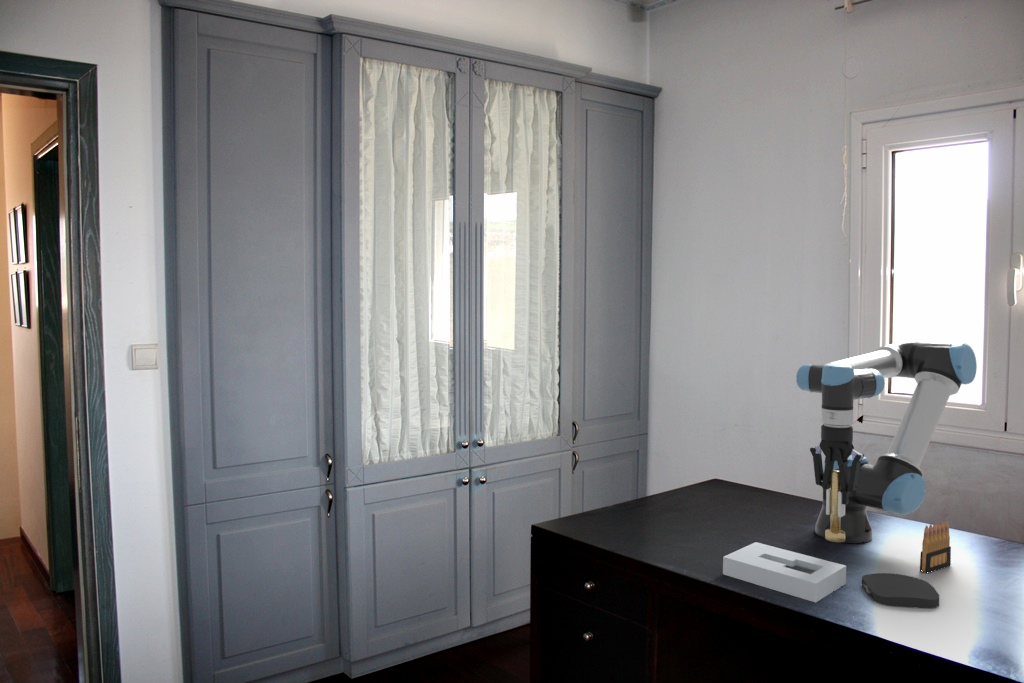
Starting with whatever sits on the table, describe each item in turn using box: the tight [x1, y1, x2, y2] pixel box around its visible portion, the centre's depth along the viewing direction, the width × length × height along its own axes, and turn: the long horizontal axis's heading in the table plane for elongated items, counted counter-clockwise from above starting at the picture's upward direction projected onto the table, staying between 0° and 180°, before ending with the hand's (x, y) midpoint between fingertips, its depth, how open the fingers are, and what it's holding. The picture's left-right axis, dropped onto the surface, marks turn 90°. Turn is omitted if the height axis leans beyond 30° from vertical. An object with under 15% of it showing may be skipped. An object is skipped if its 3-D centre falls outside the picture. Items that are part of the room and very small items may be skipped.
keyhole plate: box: [722, 541, 847, 603], centre depth 189 cm, size 24×16×4 cm, turn 43°
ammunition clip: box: [919, 519, 952, 574], centre depth 195 cm, size 11×2×12 cm, turn 121°
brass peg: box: [824, 470, 845, 543], centre depth 197 cm, size 5×5×18 cm
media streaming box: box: [861, 572, 940, 609], centre depth 179 cm, size 15×15×3 cm
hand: (835, 514), depth 198 cm, fingers closed on brass peg, 2 cm apart
